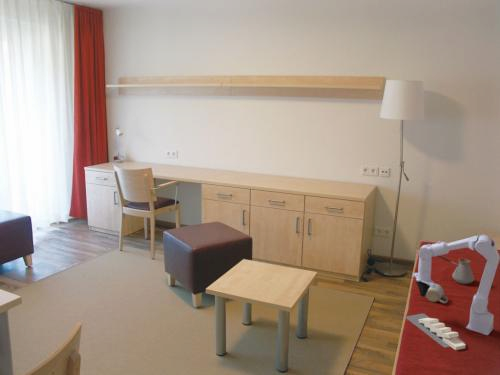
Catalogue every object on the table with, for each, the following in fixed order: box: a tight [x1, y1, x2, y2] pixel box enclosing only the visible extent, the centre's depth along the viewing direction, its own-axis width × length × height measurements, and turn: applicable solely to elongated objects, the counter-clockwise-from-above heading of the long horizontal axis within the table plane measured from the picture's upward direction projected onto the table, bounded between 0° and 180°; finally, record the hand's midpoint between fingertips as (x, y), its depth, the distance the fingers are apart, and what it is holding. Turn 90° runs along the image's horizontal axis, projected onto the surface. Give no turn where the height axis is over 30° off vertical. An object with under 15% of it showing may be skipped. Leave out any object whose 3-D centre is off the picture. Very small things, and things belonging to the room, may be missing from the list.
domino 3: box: [430, 326, 453, 333], centre depth 195 cm, size 2×5×8 cm
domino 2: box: [424, 322, 446, 329], centre depth 199 cm, size 2×5×8 cm
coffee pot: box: [434, 255, 475, 285], centre depth 250 cm, size 21×12×15 cm, turn 72°
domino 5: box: [442, 337, 466, 351], centre depth 187 cm, size 2×5×8 cm
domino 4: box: [436, 331, 460, 338], centre depth 191 cm, size 2×5×8 cm
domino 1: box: [418, 317, 440, 324], centre depth 203 cm, size 2×5×8 cm
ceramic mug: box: [425, 283, 449, 304], centre depth 228 cm, size 11×8×8 cm
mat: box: [404, 313, 466, 349], centre depth 200 cm, size 28×11×1 cm, turn 16°
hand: (422, 295), depth 211 cm, fingers closed
